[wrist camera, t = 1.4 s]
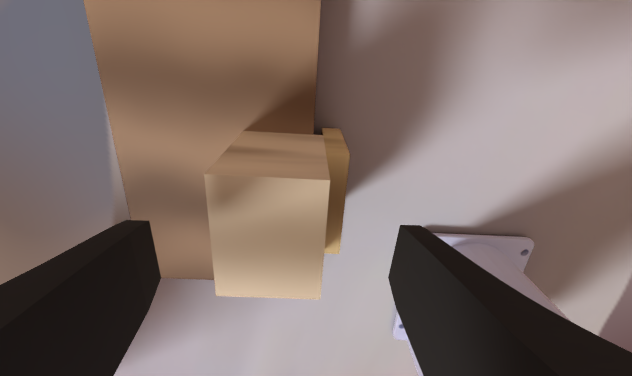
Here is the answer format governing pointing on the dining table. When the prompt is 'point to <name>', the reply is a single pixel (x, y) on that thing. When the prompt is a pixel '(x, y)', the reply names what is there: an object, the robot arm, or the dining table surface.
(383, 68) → the dining table surface
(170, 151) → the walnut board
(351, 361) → the dining table surface
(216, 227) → the tan wood block
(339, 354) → the dining table surface
